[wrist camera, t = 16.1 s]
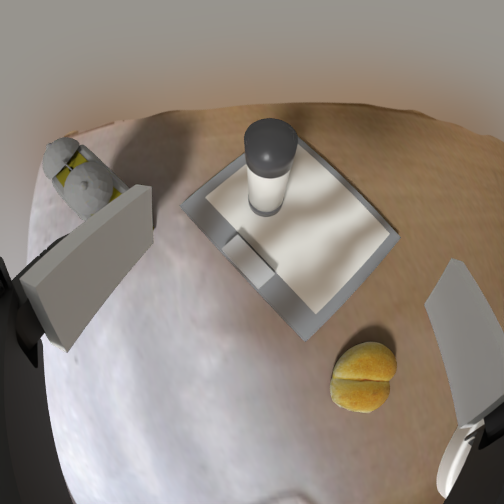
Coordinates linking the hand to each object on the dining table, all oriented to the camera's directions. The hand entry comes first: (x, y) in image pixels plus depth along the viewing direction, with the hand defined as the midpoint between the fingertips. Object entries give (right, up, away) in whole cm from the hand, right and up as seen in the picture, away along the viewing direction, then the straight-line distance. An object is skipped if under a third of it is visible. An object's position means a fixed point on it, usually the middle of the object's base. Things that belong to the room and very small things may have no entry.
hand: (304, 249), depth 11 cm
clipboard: (+3, +3, +23) cm, 23 cm away
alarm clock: (-19, +4, +23) cm, 31 cm away
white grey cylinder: (0, +6, +22) cm, 23 cm away
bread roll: (+12, -16, +19) cm, 27 cm away
